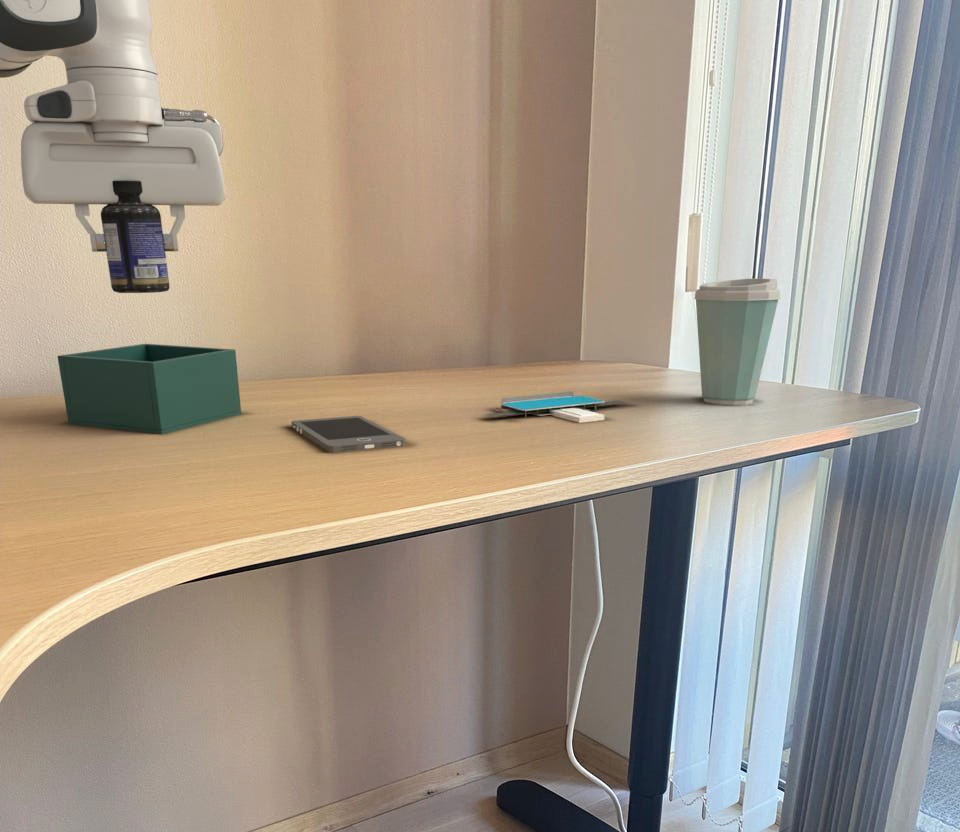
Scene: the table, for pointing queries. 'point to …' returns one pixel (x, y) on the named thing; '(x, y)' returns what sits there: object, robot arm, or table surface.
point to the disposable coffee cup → (734, 337)
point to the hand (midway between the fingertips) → (135, 251)
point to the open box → (150, 387)
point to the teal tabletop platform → (553, 406)
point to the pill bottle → (134, 242)
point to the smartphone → (347, 434)
